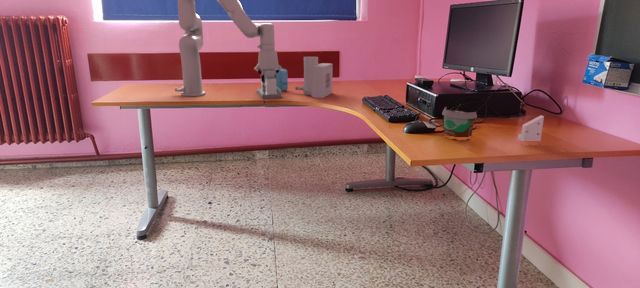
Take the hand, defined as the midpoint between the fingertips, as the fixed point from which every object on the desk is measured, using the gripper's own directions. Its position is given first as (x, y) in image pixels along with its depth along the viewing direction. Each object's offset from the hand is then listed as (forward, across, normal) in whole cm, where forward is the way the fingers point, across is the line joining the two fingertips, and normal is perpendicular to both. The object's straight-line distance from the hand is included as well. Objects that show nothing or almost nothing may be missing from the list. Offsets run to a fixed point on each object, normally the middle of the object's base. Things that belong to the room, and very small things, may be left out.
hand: (268, 82), depth 233 cm
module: (+2, 0, 0) cm, 2 cm away
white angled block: (+8, +68, -116) cm, 135 cm away
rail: (+7, 0, 0) cm, 7 cm away
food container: (+8, +48, -103) cm, 114 cm away
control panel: (+7, +23, -4) cm, 24 cm away
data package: (+7, +8, +16) cm, 19 cm away
